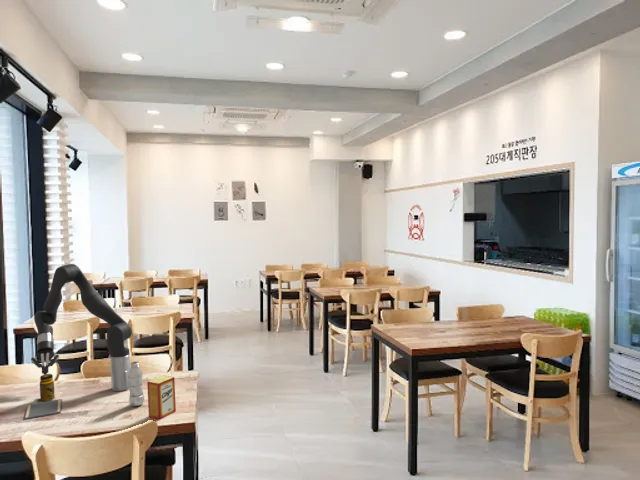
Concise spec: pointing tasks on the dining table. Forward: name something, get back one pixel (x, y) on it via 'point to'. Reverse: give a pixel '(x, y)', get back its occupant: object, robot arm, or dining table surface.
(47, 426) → the dining table surface
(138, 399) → the plastic bottle
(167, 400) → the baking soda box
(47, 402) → the mat
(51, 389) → the condiment
